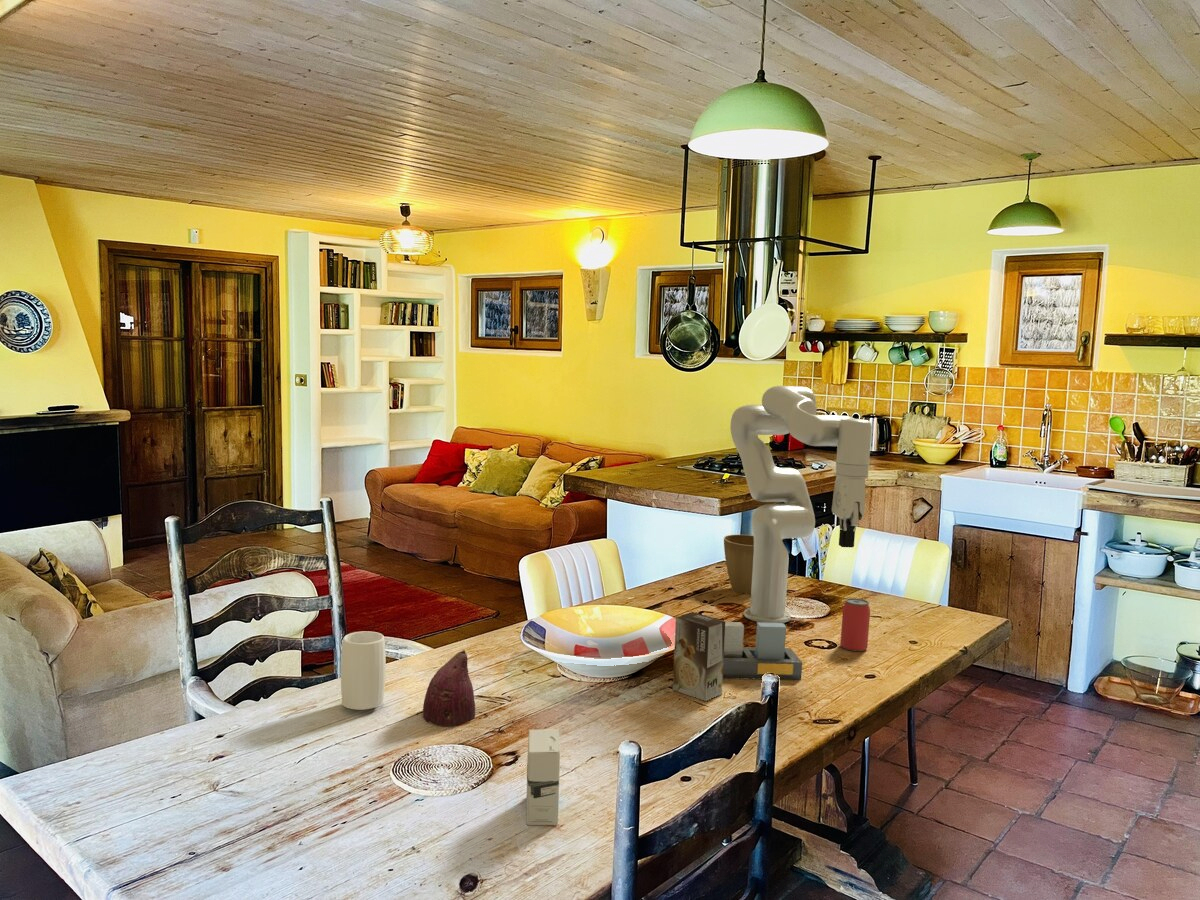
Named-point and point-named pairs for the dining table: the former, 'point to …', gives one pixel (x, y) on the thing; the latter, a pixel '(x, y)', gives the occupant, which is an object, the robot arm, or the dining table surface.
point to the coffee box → (698, 655)
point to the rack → (743, 659)
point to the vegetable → (450, 694)
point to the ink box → (543, 777)
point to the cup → (363, 670)
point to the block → (770, 641)
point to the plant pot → (739, 561)
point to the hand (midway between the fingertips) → (846, 546)
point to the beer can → (855, 624)
